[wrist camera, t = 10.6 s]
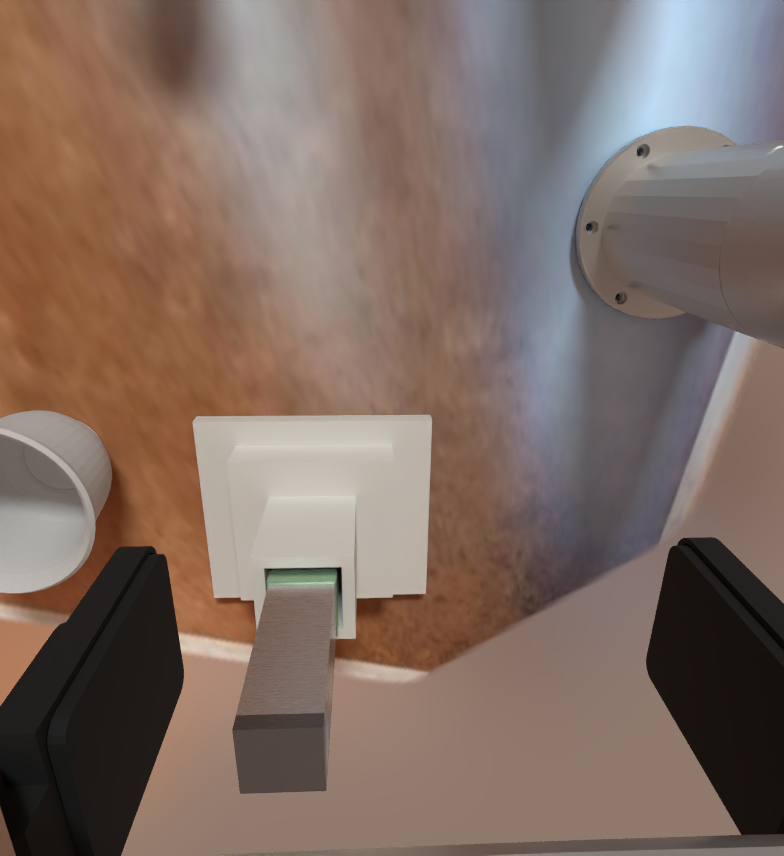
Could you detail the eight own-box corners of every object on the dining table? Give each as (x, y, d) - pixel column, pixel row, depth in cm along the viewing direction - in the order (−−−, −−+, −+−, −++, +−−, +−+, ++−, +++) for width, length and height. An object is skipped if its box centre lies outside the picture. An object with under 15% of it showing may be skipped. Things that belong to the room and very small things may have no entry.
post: (340, 527, 42) (325, 725, 26) (341, 576, 44) (328, 792, 28) (280, 528, 42) (229, 728, 26) (283, 578, 43) (238, 795, 28)
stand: (430, 414, 46) (452, 491, 34) (424, 585, 52) (441, 701, 40) (196, 416, 46) (137, 495, 34) (217, 589, 52) (173, 708, 40)
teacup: (-51, 497, 47) (-153, 572, 38) (24, 345, 43) (-70, 388, 34) (91, 567, 50) (29, 652, 41) (174, 432, 46) (126, 493, 37)
